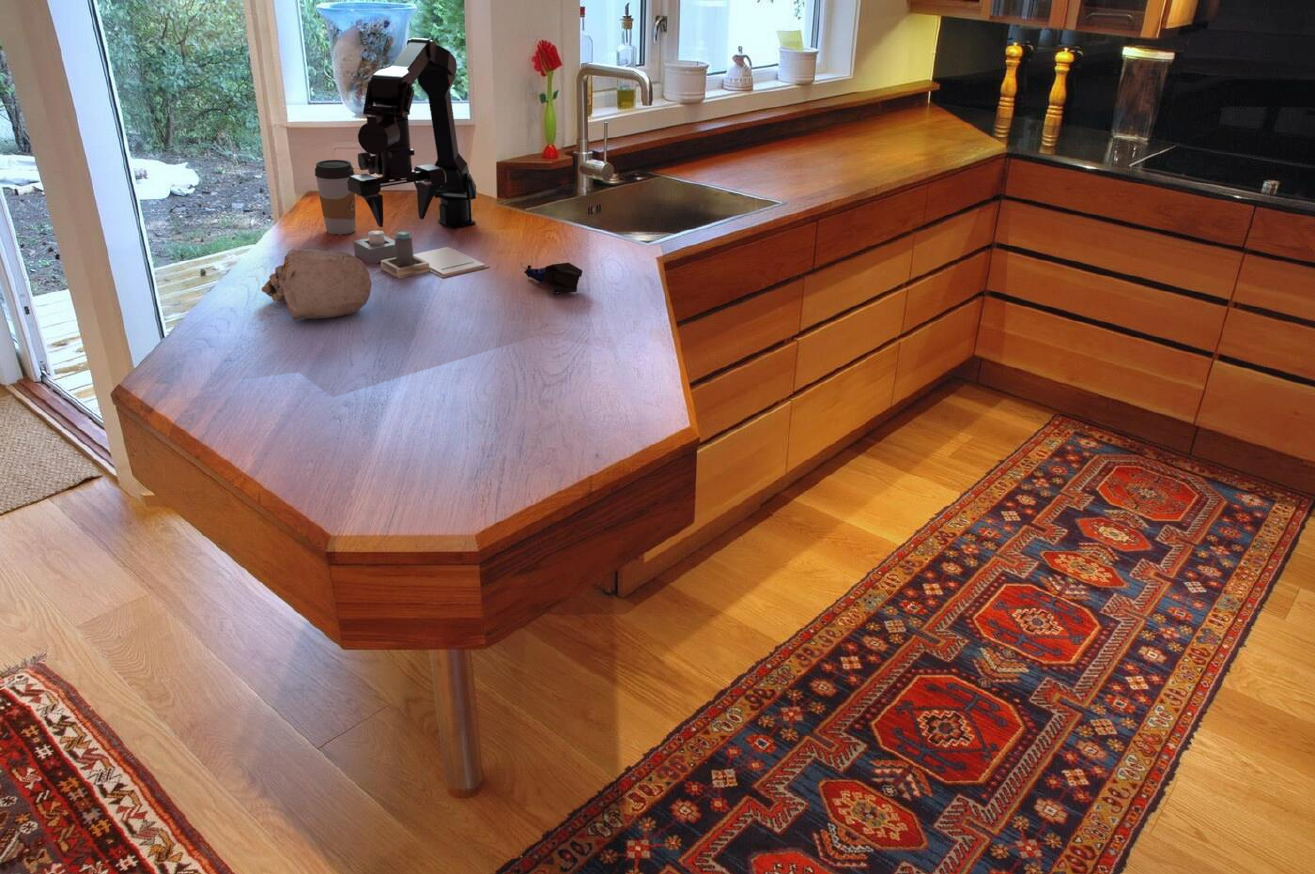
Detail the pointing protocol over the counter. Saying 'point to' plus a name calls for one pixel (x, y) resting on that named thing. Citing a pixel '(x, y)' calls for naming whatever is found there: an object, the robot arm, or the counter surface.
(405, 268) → the holder tray
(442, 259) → the white flat rectangular panel
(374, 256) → the button housing
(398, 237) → the marker
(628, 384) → the counter surface
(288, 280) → the decorative skull
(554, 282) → the toy
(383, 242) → the button
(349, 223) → the coffee cup
